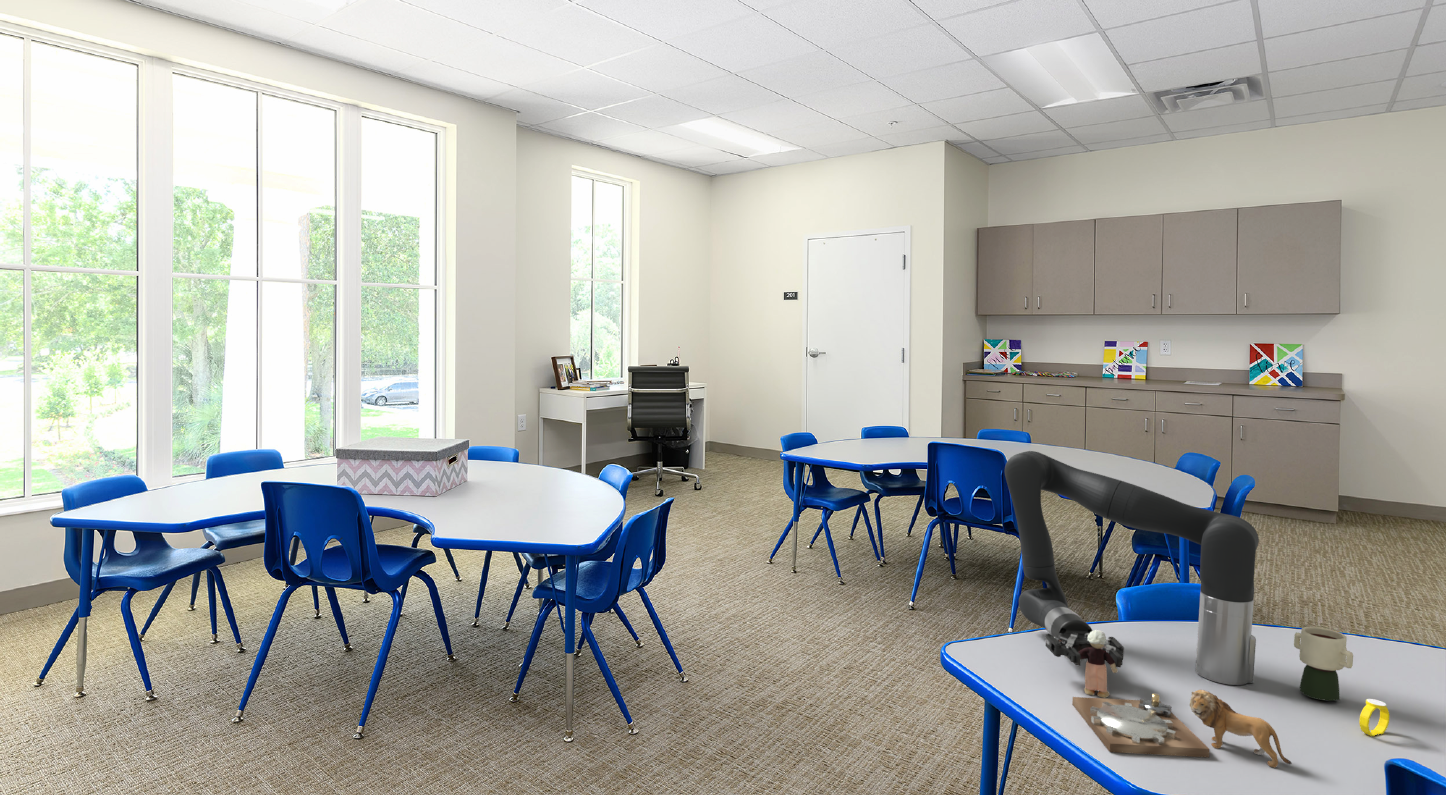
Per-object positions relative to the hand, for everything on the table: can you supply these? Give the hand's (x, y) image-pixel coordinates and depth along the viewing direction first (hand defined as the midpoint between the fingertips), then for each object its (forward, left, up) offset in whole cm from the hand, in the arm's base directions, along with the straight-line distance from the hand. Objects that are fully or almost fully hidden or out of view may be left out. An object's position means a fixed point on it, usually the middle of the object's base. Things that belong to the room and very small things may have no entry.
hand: (1099, 661), depth 148 cm
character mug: (-44, -5, -8) cm, 45 cm away
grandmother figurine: (0, -2, -7) cm, 8 cm away
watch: (-44, +9, -8) cm, 46 cm away
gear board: (-2, +12, -7) cm, 14 cm away
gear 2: (-7, +7, -6) cm, 12 cm away
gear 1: (-1, +13, -6) cm, 15 cm away
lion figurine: (-16, +18, -8) cm, 25 cm away
